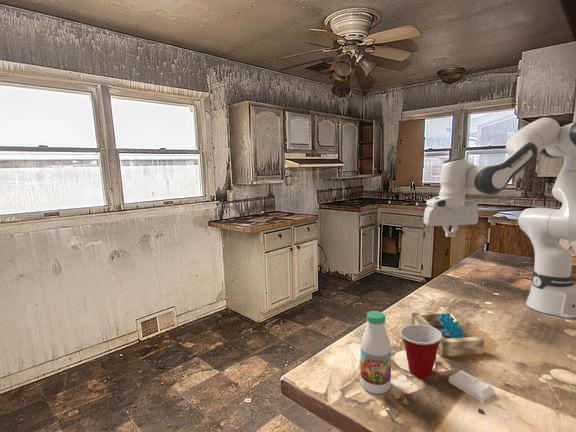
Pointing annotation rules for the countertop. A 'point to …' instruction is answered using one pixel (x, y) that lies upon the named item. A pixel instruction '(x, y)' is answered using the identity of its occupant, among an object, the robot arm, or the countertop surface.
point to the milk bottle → (375, 355)
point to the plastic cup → (421, 348)
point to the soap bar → (471, 385)
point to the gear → (451, 326)
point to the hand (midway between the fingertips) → (450, 236)
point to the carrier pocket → (454, 344)
